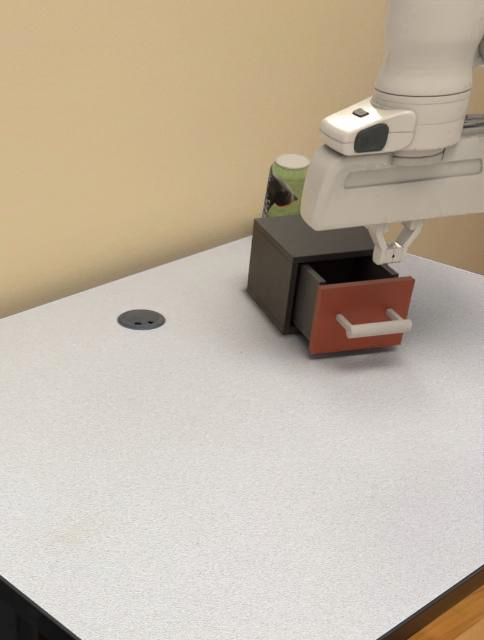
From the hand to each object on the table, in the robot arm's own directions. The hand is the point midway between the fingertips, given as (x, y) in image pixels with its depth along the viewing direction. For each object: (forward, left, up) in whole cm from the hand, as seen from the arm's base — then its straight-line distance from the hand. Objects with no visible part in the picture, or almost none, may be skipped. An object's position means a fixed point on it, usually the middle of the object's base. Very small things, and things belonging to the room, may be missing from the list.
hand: (388, 261), depth 96 cm
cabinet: (0, -18, -12) cm, 22 cm away
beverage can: (-5, -43, -12) cm, 45 cm away
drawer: (0, -7, -11) cm, 13 cm away
